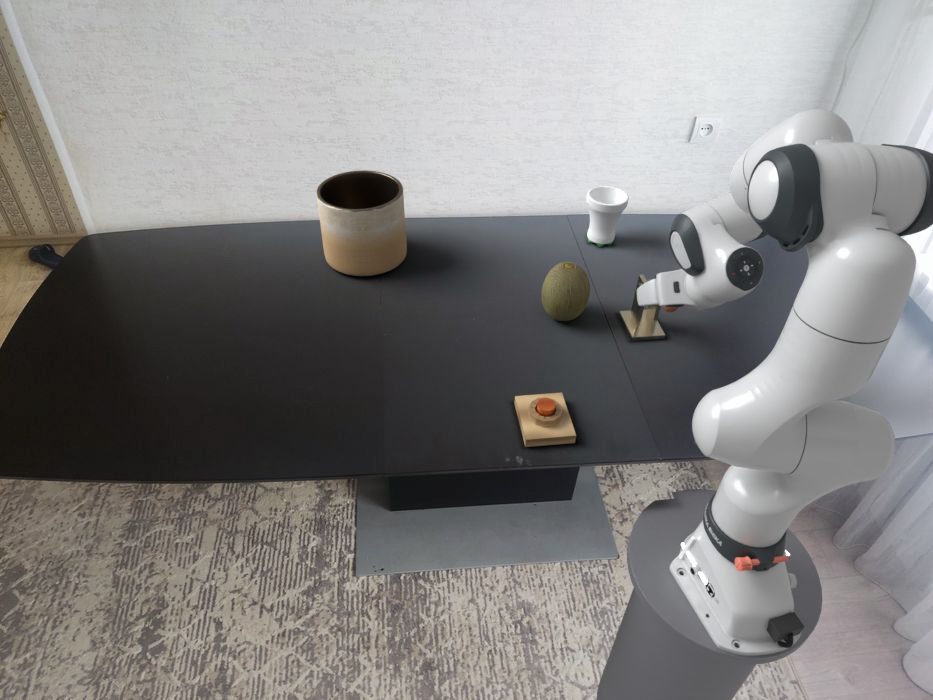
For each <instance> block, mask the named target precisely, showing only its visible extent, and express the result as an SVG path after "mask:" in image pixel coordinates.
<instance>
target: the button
mask: <svg viewBox="0 0 933 700" xmlns="http://www.w3.org/2000/svg"><path fill="white" fill-rule="evenodd" d="M554 411H555V402H554V401H553V400H551V399H549V398H542V399H540V400H539V401H538V402H537V413H538V414H539V415H541V416H544V417H549V416H552V415H553V414H554Z"/></svg>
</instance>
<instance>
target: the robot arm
mask: <svg viewBox="0 0 933 700" xmlns="http://www.w3.org/2000/svg"><path fill="white" fill-rule="evenodd" d="M728 180H729V184H728V185H729V190H730V191H729V192H727V193H724V194H723V195H720V196H718V197H715V198H713V199H711V200H709V201H706V202H703V203H701V204H699V205H697V206H694V207H692V208H689V209H687V210H685V211H683V212H681V213H678V214H676V216H675V217H674V218H673V220H672V223H671V225H670V229H669V235H668V246H669V248H670V252H671V254H672V256H673V258H674V260H675V262H676V263H677V265H678V266H679V267H680V268H679V269H673V270H667V271H663V272H659V273H656V274H657V275H656V274H655V276H656V279H655V278H652V279H653V280H650V281H648V282H646V283H644V284H643V285H641V286H640V287H639V288H638V289H637V301H638V305H639V306H644V307H648V306H654V305H660V306H661V308H663V307H678V308H684V309H688V310H689V309H690V310H696V311H707V310H710V309H713V308H716V307H719V306H722V305H723V304H725V303H731V302H733V301H736V300H739V299H741V298H743V297H745V296H747V295H748V294H750V293H751V292H752V291H754V290H755V289H756V288H757V287H758V286H759V284H761V281H762V279H763V277H764V273H765V262H764V259H763V257H762V255H761V253H760V252H759V251H757V250H756V249H755V248H753V247H750V246H748V245H745V244H748V243H752V242H754V241H757V240H760V239H763V238H765V237H766V236H769V237H771V238H772V239H774V240H777V242H778V245H779V247H780V248H781V249H782V250H783V251H785V252H788V253H794V252H797V251H800V250H801V249H803V248H805V251H806V254H807V261H808V262H807V263H808V264H807V270H806V273H805V277H804V279H803V281H802V283H801V285H800V288H799V290H798V292H797V295H796V296H795V299H794V301H793V304H792V307H791V309H790V311H789V314H788V317H787V319H786V322H785V324H784V326H783V328H782V331H781V332H780V335H779V336H778V339H777V341H776V342H775V345H774V347H773V349H772V350H771V352H770V353H769V354H768V355H767V357H766V358H765V359H763V361H761V362H760V363H759V364H758V365H757V366H756V367H755V368H754V369H752V370H750V372H749V373H747V374H745V375H744V376H743V377H741V378H739V379H737V380H736V381H733V382H731V383H729V384H727V385H724V386H722V387H718V388H715V389H712V390H710V391H709V392H707V393H705V395H704V396H703V397H702V398H701V399H700V400H699V402H698V404H697V405H696V407H695V409H694V412H693V415H692V421H691V431H692V435H693V439H694V441H695V444H696V446H697V448H698V449H699V450H700V452H701V453H702V455H704V456H705V457H706V458H710V459H712V460H715V461H718V462H721V463H723V464H727V465H730V466H729V467H728V469H727V470H725V472H724V475H723V476H722V478H721V481H720V484H719V486H718V488H717V490H716V491H717V492H716V493H715V494H714V495H713V496H712V498H711V499H710V501H709V503H708V504H707V506H706V508H705V512H704V515H703V520H702V522H701V523H700V524H699V526H698V527H697V529H696V530H695V531H694V532H693V533H691V534H690V535H689V536H688V537H687V538H686V539H685V540H684V542H683V543H681V549H680V553H679V555H678V556H677V557H676V558H675V559H674V560H673V562H672V563H671V564H670V567H669V569H670V572H671V573H672V575H673V577H674V578H675V580H676V582H677V583H678V585H679V586H680V588H681V590H682V591H683V593H684V595H685V596H686V598H687V599H688V601H689V603H690V604H691V606H692V608H693V609H694V611H695V612H696V614H697V616H698V617H699V619H700V621H701V622H702V624H703V625H704V627H705V629H706V630H707V632H708V633H709V635H710V637H711V638H712V640H713V642H714V643H715V644H716V646H717V647H718V648H719V649H721V650H724V651H726V652H729V653H732V654H737V655H744V656H759V655H768V654H774V653H778V652H781V651H784V650H786V649H788V648H790V647H792V646H793V645H794V644H795V643H796V642H797V641H798V640H799V638H800V636H801V631H802V630H803V628H804V627H805V626H804V625H803V624H802V622H801V621H800V619H799V618H798V616H797V615H796V614H795V612H794V601H793V596H792V591H791V589H794V588H796V586H797V579H796V576H795V575H794V574H792V573H787V568H786V564H785V561H787V560H788V559H787V558H789V556H790V554H789V553H788V552H787V551H786V550H785V542H786V538H787V528H788V529H789V527H790V525H791V524H792V523H793V521H794V520H795V518H796V517H797V515H798V514H800V512H801V511H802V510H803V509H805V508H806V507H807V506H808V505H810V504H812V503H813V502H815V501H817V500H818V499H820V498H822V497H823V496H826V495H827V494H830V493H833V492H834V491H836V490H839V489H841V488H844V487H848V486H851V485H854V484H858V483H863V482H868V481H874V480H876V479H878V478H879V477H881V476H882V475H883V474H884V473H885V472H886V471H887V470H888V469H889V467H890V465H891V464H892V462H893V460H894V457H895V453H896V436H895V433H894V430H893V428H892V426H891V423H890V422H889V421H888V419H887V417H886V416H885V415H884V414H883V413H881V412H879V411H877V410H874V409H871V408H869V407H865V406H863V405H859V404H855V403H852V402H849V401H846V400H842V399H845V398H847V397H849V396H852V395H854V394H856V393H857V392H859V391H860V390H861V389H862V388H863V387H865V386H866V385H867V384H868V382H869V381H870V379H871V377H872V375H873V373H874V371H875V370H876V368H877V366H878V364H879V362H880V360H881V358H882V356H883V354H884V352H885V350H886V348H887V346H888V344H889V341H890V340H891V338H892V337H893V334H894V332H895V330H896V328H897V326H898V324H899V322H900V319H901V317H902V314H903V312H904V309H905V307H906V304H907V301H908V298H909V296H910V292H911V289H912V285H913V281H914V277H915V272H916V269H917V257H916V253H915V251H914V249H913V248H912V246H911V245H910V244H909V243H908V241H907V240H905V239H904V238H903V237H907V236H912V235H914V234H917V233H920V232H922V231H925V230H927V229H928V228H930V227H932V226H933V152H930V151H928V150H925V149H922V148H918V147H914V146H909V145H904V144H903V145H902V144H888V143H881V144H871V143H870V144H867V143H866V144H865V143H859V142H854V137H853V133H852V130H851V128H850V127H849V125H848V123H847V122H846V121H845V120H844V119H843V118H842V117H841V116H840V115H838V114H837V113H835V112H833V111H831V110H827V109H822V108H810V109H805V110H802V111H800V112H797V113H795V114H794V115H792V116H790V117H787V118H786V119H784V120H782V121H780V122H779V123H778V124H776V125H774V126H773V127H771V128H770V129H768V131H766V132H765V133H764V134H763V135H761V136H760V137H758V138H757V140H756V141H754V142H753V143H752V144H751V145H750V146H749V147H748V148H747V149H745V151H743V153H742V154H741V155H740V156H739V158H737V160H736V162H735V163H734V165H733V167H732V169H731V171H730V174H729V179H728ZM679 573H681V574H683V576H682V575H680V574H679ZM784 639H786V640H787V642H785V641H784ZM734 645H737V646H738V647H739V648H736V647H735V646H734Z"/></svg>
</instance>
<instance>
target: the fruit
mask: <svg viewBox="0 0 933 700" xmlns="http://www.w3.org/2000/svg"><path fill="white" fill-rule="evenodd" d="M590 295H591V283H590V279H589V276H588V274H587V272H586V271H585V270H584V268H583V267H582V266H581V265H579V264H578V263H575V262H573V261H562V262H559V263H557V264H556V265H554V266H553V267H552V268H551V269H550V271H548V273H547V275H546V276H545V279H544V281H543V283H542V286H541V303H542V307H543V309H544V312H546V314H547V315H548V316H549V317H551V318H552V319H554V320H555V321H558V322H569V321H572V320H575V319H576V318H578V317H579V316H580V315H581V314H582V313H583V312H584V310H585V309H586V307H587V305H588V303H589V299H590Z"/></svg>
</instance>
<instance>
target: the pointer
mask: <svg viewBox="0 0 933 700" xmlns="http://www.w3.org/2000/svg"><path fill="white" fill-rule="evenodd" d="M653 279H654V278H646V280H647V282H648V281H650V280H653ZM662 308H663V310H664V311H665V312H668V313H673V312H676V311H677V310H678V309H679V307H662Z"/></svg>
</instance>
